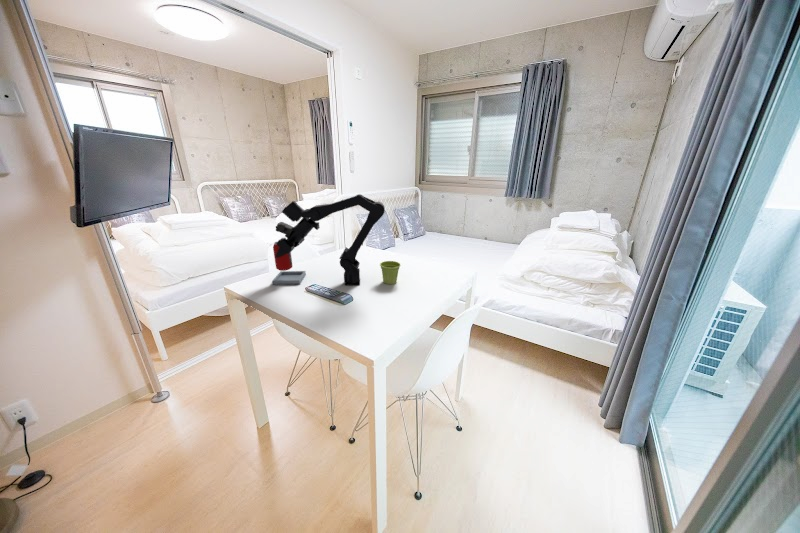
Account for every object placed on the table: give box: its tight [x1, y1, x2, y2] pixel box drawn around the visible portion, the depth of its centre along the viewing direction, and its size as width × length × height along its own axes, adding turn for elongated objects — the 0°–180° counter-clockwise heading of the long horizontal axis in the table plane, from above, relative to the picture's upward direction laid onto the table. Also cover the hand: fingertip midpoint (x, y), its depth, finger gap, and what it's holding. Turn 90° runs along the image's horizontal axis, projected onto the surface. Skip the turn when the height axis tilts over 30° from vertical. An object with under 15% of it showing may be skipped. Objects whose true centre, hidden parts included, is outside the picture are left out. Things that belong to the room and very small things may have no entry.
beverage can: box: [272, 241, 293, 271], centre depth 118 cm, size 7×7×12 cm
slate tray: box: [271, 270, 307, 286], centre depth 125 cm, size 12×12×2 cm
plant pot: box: [379, 260, 402, 285], centre depth 124 cm, size 9×9×9 cm
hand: (279, 254), depth 118 cm, fingers closed on beverage can, 7 cm apart
